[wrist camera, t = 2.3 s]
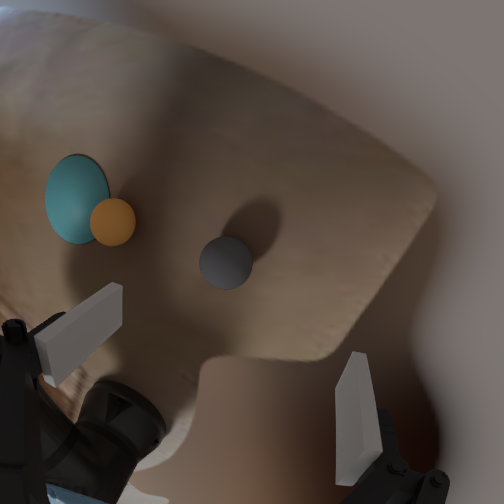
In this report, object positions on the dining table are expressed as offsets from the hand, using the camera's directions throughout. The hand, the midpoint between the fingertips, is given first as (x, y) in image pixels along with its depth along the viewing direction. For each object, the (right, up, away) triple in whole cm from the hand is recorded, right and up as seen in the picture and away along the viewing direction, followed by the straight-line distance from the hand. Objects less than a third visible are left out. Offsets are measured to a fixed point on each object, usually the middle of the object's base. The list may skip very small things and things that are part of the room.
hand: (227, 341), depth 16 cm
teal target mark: (-22, +12, +20) cm, 32 cm away
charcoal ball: (-1, +4, +16) cm, 17 cm away
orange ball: (-15, +8, +17) cm, 24 cm away
